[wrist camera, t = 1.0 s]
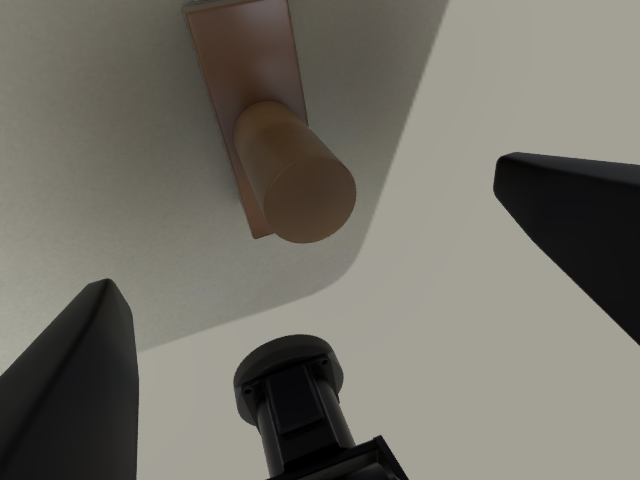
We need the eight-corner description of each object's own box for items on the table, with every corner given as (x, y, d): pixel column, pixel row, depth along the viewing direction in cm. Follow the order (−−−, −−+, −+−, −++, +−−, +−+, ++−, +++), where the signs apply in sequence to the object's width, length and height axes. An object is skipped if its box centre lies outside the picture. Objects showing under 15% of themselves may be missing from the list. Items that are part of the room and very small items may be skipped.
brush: (303, 187, 19) (376, 297, 12) (241, 205, 18) (285, 330, 12) (265, -12, 14) (354, 4, 8) (180, 5, 13) (197, 37, 7)
